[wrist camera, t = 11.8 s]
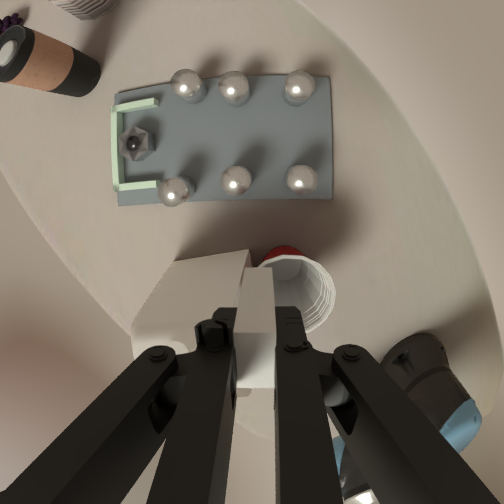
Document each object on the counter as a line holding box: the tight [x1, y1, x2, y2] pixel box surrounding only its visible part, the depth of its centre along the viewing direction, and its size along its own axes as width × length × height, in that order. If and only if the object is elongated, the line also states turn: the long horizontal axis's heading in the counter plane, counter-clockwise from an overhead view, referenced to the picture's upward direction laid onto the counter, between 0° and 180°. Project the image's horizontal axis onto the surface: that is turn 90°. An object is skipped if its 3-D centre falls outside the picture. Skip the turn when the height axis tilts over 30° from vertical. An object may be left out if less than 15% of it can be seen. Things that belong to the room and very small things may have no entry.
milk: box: [131, 249, 252, 397], centre depth 33 cm, size 12×12×26 cm
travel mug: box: [0, 25, 101, 97], centre depth 26 cm, size 8×8×20 cm
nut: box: [119, 125, 156, 161], centre depth 37 cm, size 5×4×3 cm
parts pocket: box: [111, 98, 161, 191], centre depth 37 cm, size 13×7×2 cm, turn 1°
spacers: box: [158, 69, 318, 207], centre depth 35 cm, size 18×20×6 cm
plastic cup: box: [258, 246, 336, 333], centre depth 38 cm, size 11×11×12 cm
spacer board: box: [115, 75, 332, 206], centre depth 38 cm, size 18×32×1 cm, turn 91°
